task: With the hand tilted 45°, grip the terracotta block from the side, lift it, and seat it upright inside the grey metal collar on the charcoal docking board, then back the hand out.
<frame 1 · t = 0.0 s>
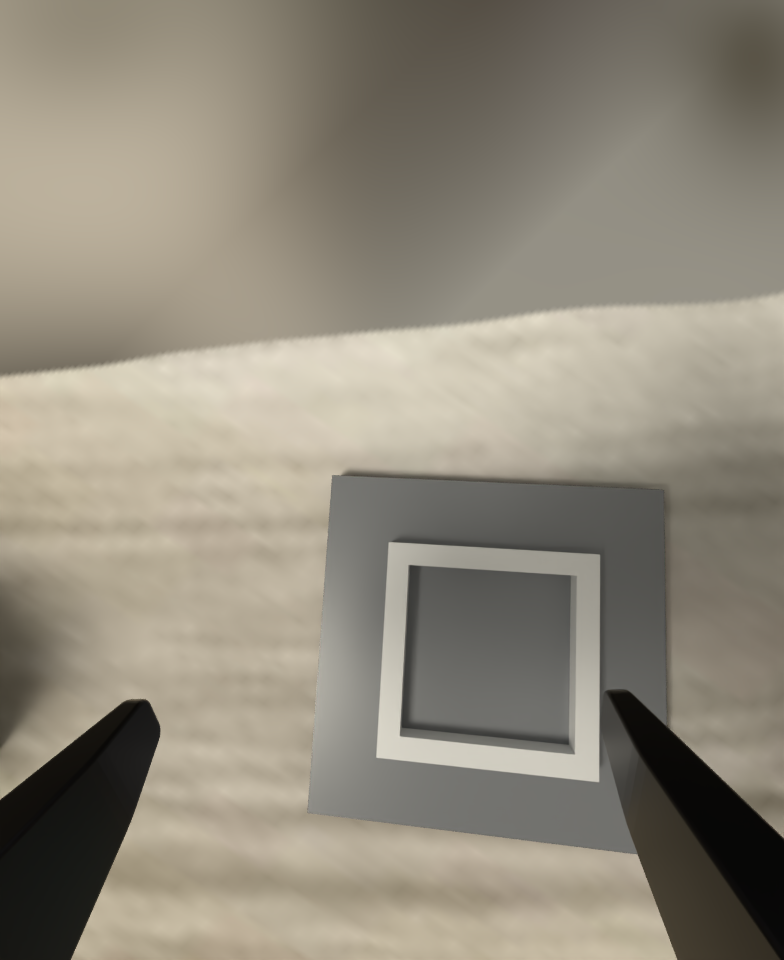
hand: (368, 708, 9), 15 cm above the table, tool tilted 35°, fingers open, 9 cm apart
dock board: (484, 645, 23), on the table
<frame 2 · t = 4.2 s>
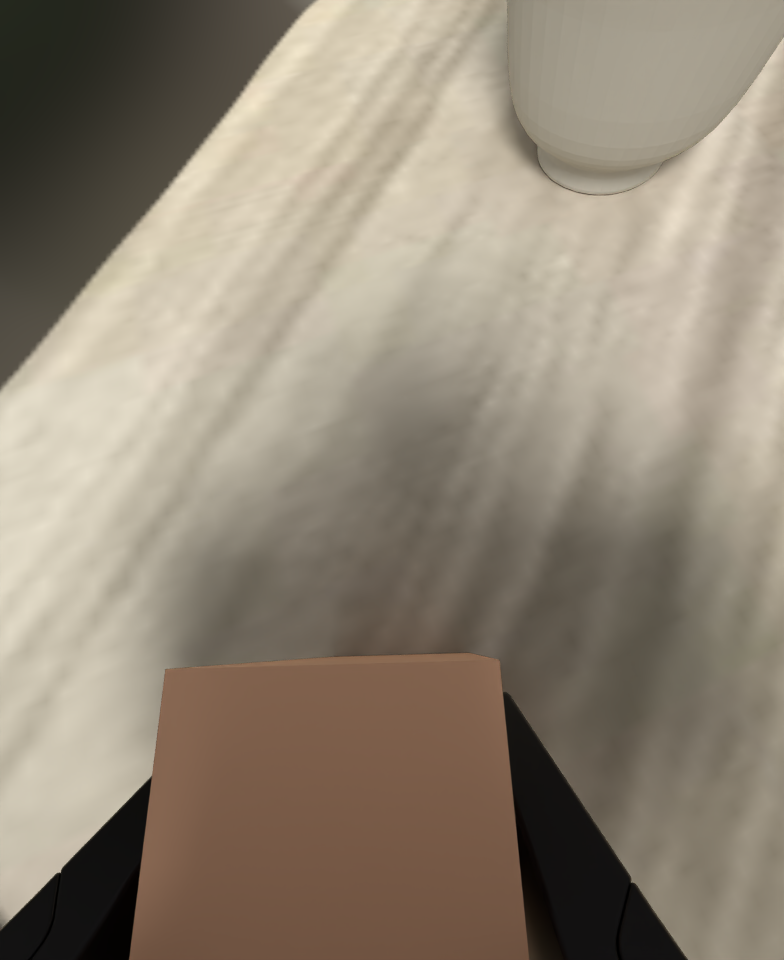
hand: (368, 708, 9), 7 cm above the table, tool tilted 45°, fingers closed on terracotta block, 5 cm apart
terracotta block: (401, 732, 15), on the table, touching gripper
teacup: (610, 135, 23), on the table
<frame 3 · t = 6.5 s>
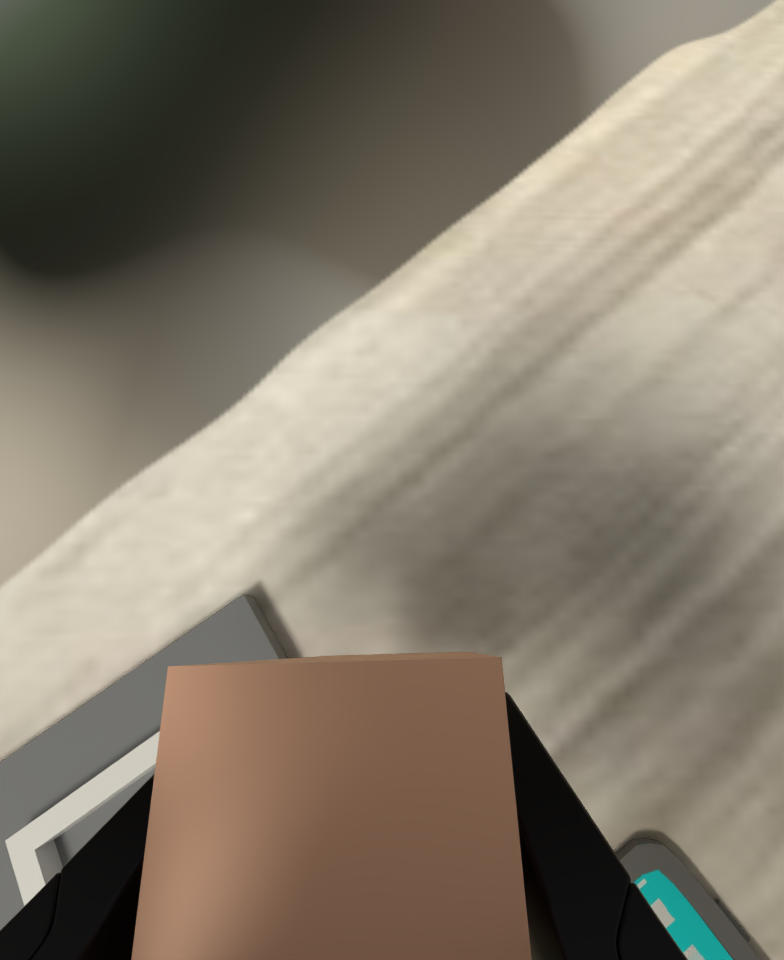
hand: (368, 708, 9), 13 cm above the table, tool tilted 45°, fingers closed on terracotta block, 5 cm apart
terracotta block: (402, 730, 15), point 7 cm above the table, touching gripper
dock board: (183, 861, 20), on the table
when the fingers open (9 cm above the table, at t = 8.9 s): terracotta block drops 1 cm, resting on dock board.
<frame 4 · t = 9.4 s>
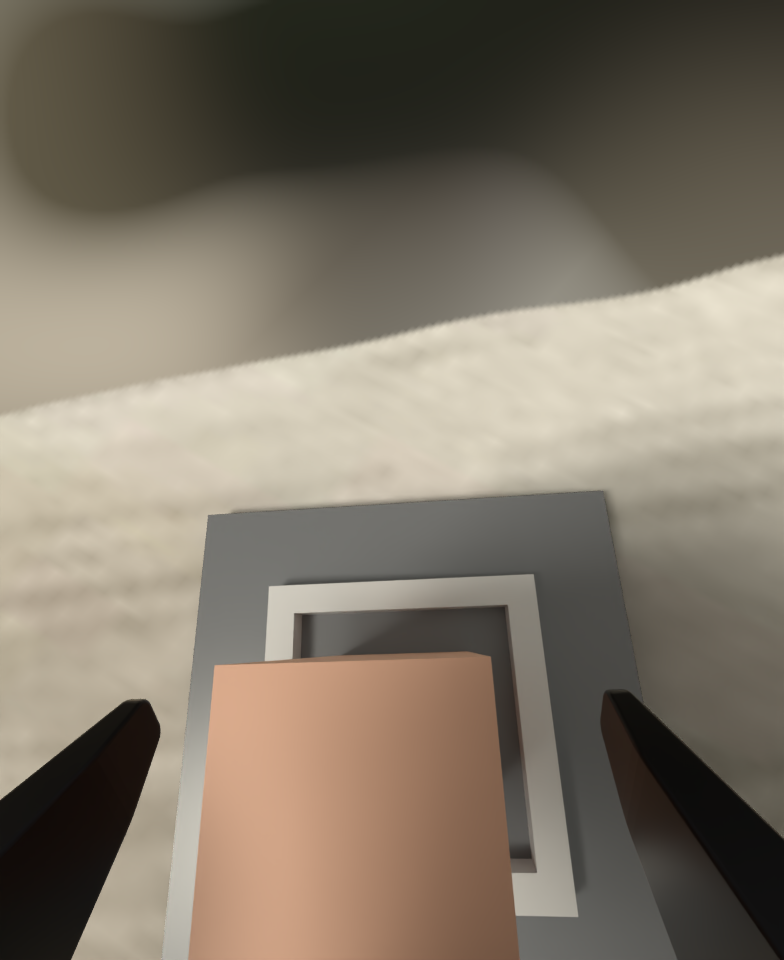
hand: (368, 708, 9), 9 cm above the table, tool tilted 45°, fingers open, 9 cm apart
terracotta block: (406, 724, 16), point 1 cm above the table, touching dock board
dock board: (408, 719, 17), on the table
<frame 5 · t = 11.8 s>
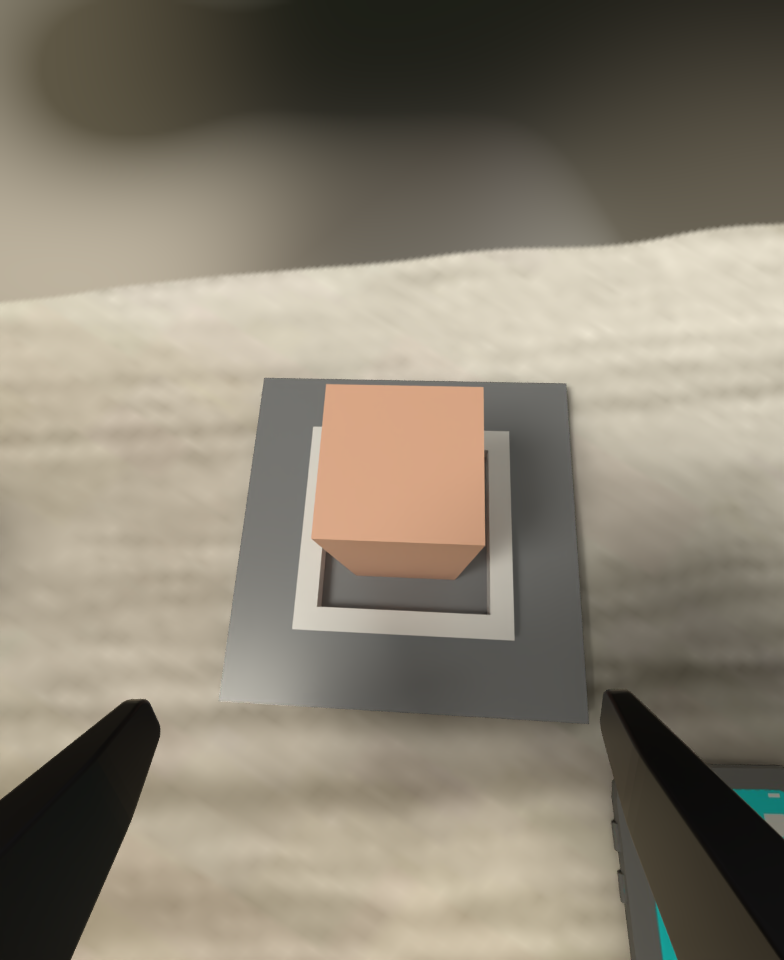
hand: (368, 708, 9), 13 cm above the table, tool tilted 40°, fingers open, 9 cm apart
terracotta block: (407, 529, 23), point 1 cm above the table, touching dock board
dock board: (406, 534, 24), on the table
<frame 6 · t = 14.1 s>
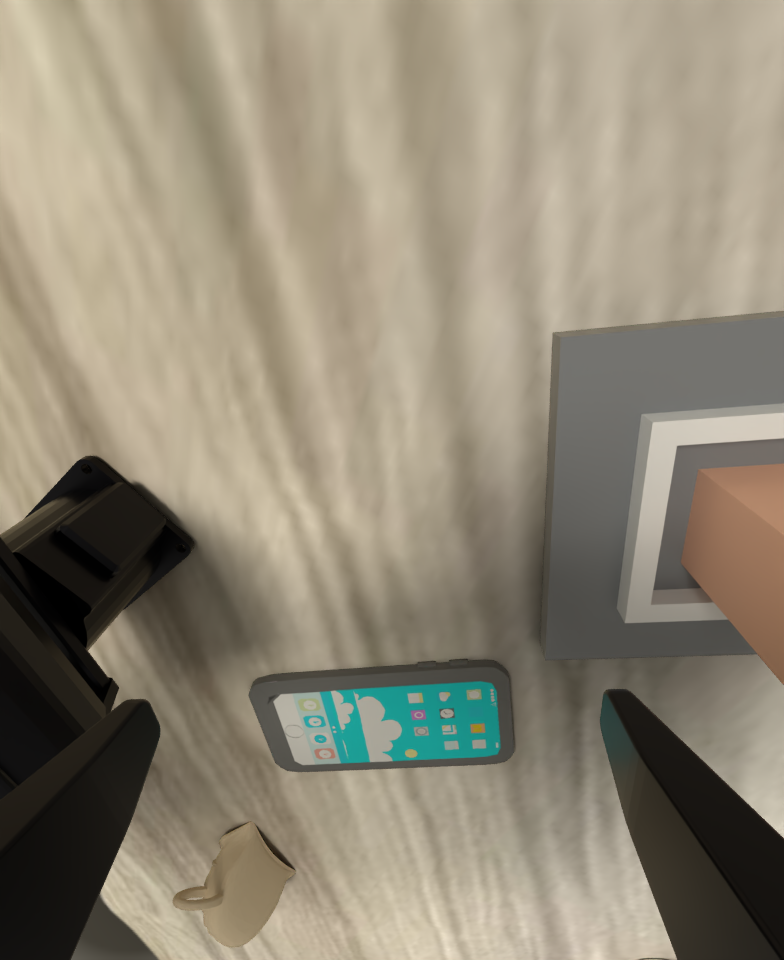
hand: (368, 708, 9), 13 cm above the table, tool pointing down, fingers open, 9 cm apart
terracotta block: (746, 515, 20), point 1 cm above the table, touching dock board
dock board: (729, 501, 21), on the table
smartphone: (384, 709, 29), on the table
beige creamer pitcher: (252, 842, 35), on the table
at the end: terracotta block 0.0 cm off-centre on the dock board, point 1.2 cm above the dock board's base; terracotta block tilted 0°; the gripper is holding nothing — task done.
